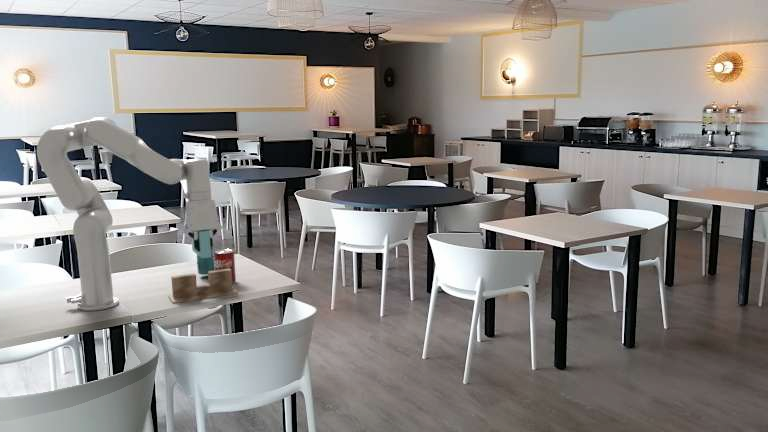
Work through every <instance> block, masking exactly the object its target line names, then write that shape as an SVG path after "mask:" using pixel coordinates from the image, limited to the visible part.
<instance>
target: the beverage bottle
mask: <svg viewBox="0 0 768 432" xmlns="http://www.w3.org/2000/svg"><path fill="white" fill-rule="evenodd" d="M214 253H215V252H214V246H213V247H212V250H211V257H208V258H201V257H199V256H198V255H197V254H196V261H197V262H196V265H197V273H198V275H201V276H202V275H203V276H205V275H207V276H208V271H215V264H214Z"/></svg>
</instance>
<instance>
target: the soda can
mask: <svg viewBox="0 0 768 432" xmlns="http://www.w3.org/2000/svg"><path fill="white" fill-rule="evenodd" d="M213 253H214V264H215V265H214V267H215V270H223V269H231V270H232V285H233V284H234V283H235V282H236V281H237V280H236V264H235V263H236V261H235V260H236V259H235V251H234V250H233V249H231V248H230V249H229V248H226V249H219V250H215V251H214V252H213Z"/></svg>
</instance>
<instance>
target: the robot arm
mask: <svg viewBox="0 0 768 432" xmlns="http://www.w3.org/2000/svg"><path fill="white" fill-rule="evenodd" d="M94 146H97V147H99V148H101V149H104V151H106V152H109V153H111V154H113V155H114V156H117V157H119V158H120V159H123V160H125V161H126V162H128V164H130V165H132V166H133V167H136V169H138V170H140V171H141V172H143V173H144V174H147V175H148V176H150V177H152V178H154V179H155V180H157V181H160V182H162V183H164V184H166V185H175V184H178V183H180V182H181V181H185V180H186V181H185V182H186V193H183V195H182V197H183V199H187V200H186V201H185V208H184V209H185V214H184V215H185V216H184V217H185V218H184V219H185V220H184V221H185V223H184V225H183V227H182V230H181V233H182V234H183V235H187V236H189V237H190V238H191V237H192V238H193V239H194V248H195V249H196V250H197V251H198V252H199V251H200V244H199V240H198V231H203V230H209V233H210V246H211V250H212V247H213V248H214V241H213V238H214V236H215V235H216V234H217V233H218V232H219V231H221V230H222V229H223V226H222V225H221V223H220V222H219V217H218V211H217V210H218V209H217V205H216V201H215V199H214V198H212V188H211V175H210V164H209V161H208V160H207V159H206V158H190V159H182V158H181V159H180V158H170V159H169V158H167V157H165V156H163V155H161V154H160V153H158V152H156V151H155V150H153V149H152V148H150V147H149V146H148V145H147V144H146V143H145V142H144V140H143V139H142V138H141V137H139V136H137V135H135V134H133V133H131V132H130V131H127V130H125V129H124V128H121V127H120V126H118V125H117V123H116V122H115V121H114V120H113V119H111V118H110V117H107V116H100V117H98V116H97V117H93V118H91V119H89V120H85V121H80V122H74V123H70V124H65V125H63V124H62V125H56V126H53V127H50V128H48V129H47V130H46V131H45V132H44V133H43V134H42V135H41V137H40V138H39V140H38V142H37V146H36V157H37V160H38V163H39V165H40V166H41V169H42V170H43V172H44V173H45V176H46V177H47V178H48V182H49V183H50V185H51V186H52V188H53V190H54V192H55V194H56V196H57V198H58V199H59V201H60V203H61V204H62V206H63V207H64V208H66V210H69V211H74V212H75V211H76V212H77V215H78V217H76V219H75V220H74V223H73V228H72V231H73V232H72V234H73V238H74V241H75V247H76V252H77V261H78V270H79V281H80V290H81V291H80V292H79V294H77V295H75V296H68V297H67V296H66V303H67V304H70V303H71V304H77V309H78V310H81V311H87V312H88V311H90V312H91V311H100V310H106V309H110V308H112V307H115V306H117V305H119V301H120V300H119V298H118V297H116V296H114V290H113V279H112V278H113V277H112V269H111V257H110V248H109V243H108V238H107V233H108V232H109V231H110V230H111V229H112V226H113V223H114V222H113V216H112V214H111V212H110V210H109V208H108V206H107V204H106V202H105V200H104V199H103V197H102V195H101V192H100V191H99V190H98V188H97V186H96V185H95V184H94V183H93V182H92V181H90V180H89V179H86V178H81V176H80V175H79V173H78V171H77V169H76V167H75V166H74V164H73V163H72V161H71V160H70V158H69V157H68V152H73V151H76V150H82V149H85V148H89V147H94ZM191 231H192V233H191ZM192 238H191V239H192Z"/></svg>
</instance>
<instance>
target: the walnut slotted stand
mask: <svg viewBox="0 0 768 432" xmlns="http://www.w3.org/2000/svg"><path fill="white" fill-rule="evenodd" d="M170 279H171V289H172V294H171V295H168V299H169V300H170V302H171V303H172V304H180V303H186V302H192V301H198V300H205V299H210V298H211V299H212V298H217V297H225V296H230V295H231V296H232V295H238V294H239V292H238V291H237V289H235V288H234V287H233V284H232V270H231V269H223V270H215V271H208V275H207V280H208V281H207V282H208V283H206V284H199V285H198V284H197V274H196V273H195V272H194V273H187V274H186V273H185V274H181V275H180V274H179V275H172V276H171V277H170Z"/></svg>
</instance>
